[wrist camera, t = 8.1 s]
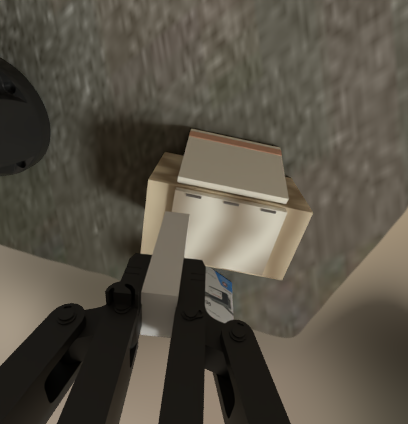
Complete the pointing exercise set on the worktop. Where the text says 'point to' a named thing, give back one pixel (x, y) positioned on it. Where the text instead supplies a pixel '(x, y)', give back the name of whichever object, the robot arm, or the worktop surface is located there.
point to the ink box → (218, 296)
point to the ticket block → (226, 223)
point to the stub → (234, 166)
